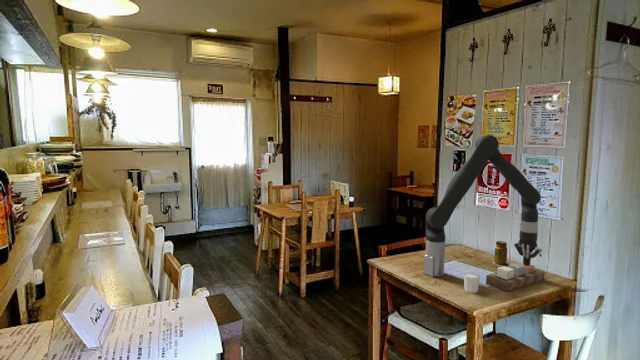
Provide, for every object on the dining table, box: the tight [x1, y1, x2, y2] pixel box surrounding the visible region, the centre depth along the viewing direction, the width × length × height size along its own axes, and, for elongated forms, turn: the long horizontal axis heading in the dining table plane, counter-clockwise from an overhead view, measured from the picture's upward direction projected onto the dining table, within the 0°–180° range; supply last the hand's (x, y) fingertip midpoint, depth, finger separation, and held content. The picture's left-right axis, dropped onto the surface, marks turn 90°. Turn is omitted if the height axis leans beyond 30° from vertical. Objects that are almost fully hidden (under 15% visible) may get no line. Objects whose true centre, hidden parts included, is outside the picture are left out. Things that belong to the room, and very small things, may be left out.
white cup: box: [463, 272, 481, 294], centre depth 171 cm, size 7×7×7 cm
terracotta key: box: [518, 262, 535, 274], centre depth 184 cm, size 5×5×4 cm
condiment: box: [490, 240, 511, 267], centre depth 205 cm, size 7×8×12 cm
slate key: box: [507, 262, 525, 276], centre depth 180 cm, size 5×5×4 cm
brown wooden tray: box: [485, 268, 545, 293], centre depth 181 cm, size 28×11×4 cm, turn 120°
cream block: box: [496, 266, 514, 280], centre depth 176 cm, size 5×5×4 cm
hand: (526, 265), depth 184 cm, fingers closed
